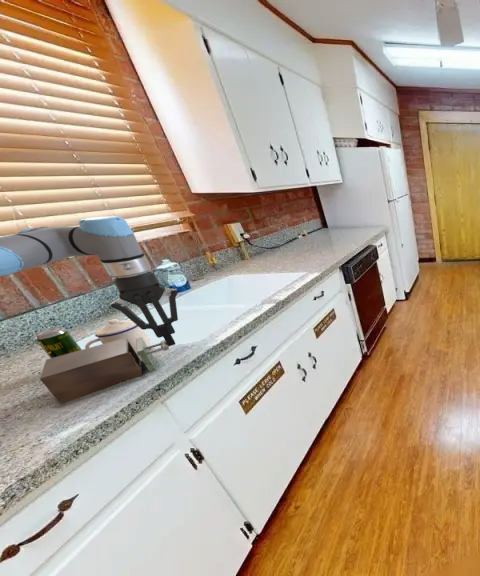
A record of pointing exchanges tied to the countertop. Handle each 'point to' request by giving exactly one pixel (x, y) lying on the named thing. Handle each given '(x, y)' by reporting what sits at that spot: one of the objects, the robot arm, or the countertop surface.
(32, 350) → the countertop surface
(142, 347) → the drawer
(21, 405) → the countertop surface
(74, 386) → the cabinet
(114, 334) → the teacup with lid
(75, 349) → the green soda can
